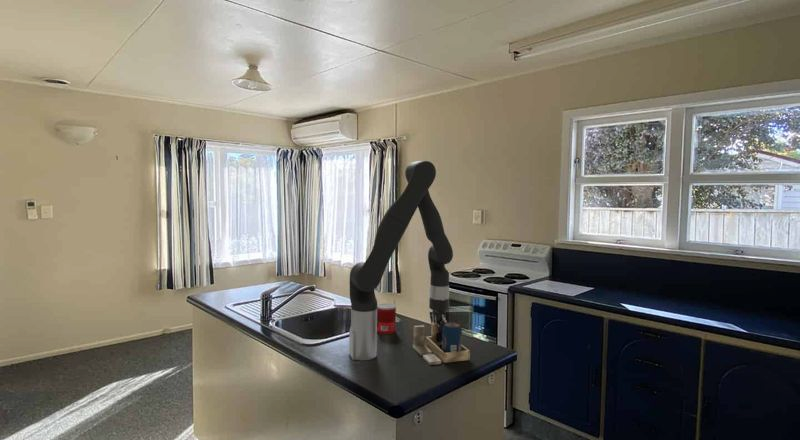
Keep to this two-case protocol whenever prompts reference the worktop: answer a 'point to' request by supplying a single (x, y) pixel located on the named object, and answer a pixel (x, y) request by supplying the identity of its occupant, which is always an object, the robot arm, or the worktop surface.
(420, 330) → the wooden l-shaped bracket
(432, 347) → the wooden caddy
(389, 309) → the canned food
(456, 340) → the soda can
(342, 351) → the worktop surface
